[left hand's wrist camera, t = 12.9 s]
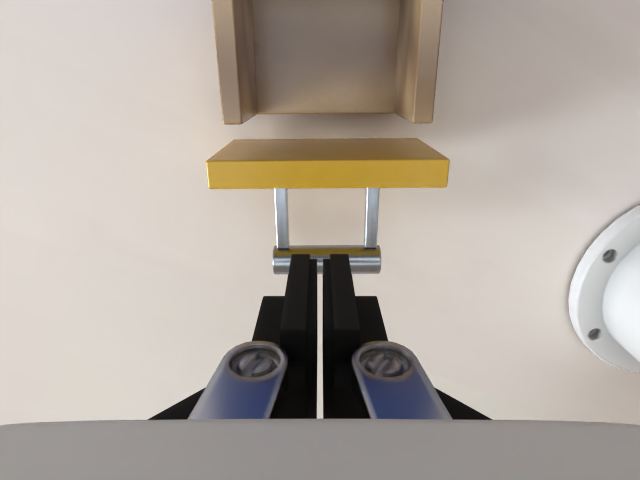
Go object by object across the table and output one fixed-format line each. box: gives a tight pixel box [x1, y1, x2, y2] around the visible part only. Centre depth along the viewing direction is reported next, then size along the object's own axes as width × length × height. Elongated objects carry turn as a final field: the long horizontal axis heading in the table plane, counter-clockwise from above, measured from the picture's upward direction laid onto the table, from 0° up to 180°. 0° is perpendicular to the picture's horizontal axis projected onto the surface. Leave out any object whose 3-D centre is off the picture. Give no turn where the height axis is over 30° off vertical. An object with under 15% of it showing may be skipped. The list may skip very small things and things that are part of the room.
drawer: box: [206, 0, 450, 274], centre depth 18 cm, size 24×10×6 cm, turn 0°
